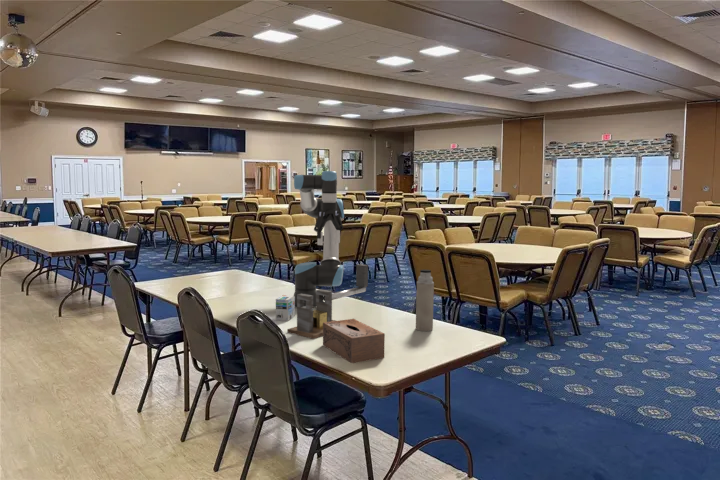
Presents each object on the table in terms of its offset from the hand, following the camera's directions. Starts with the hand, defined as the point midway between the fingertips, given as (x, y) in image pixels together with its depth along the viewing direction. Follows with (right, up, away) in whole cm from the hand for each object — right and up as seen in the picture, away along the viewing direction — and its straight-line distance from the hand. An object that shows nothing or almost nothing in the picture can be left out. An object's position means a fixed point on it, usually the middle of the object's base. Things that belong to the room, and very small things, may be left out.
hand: (328, 243), depth 281 cm
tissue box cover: (+13, -44, -56) cm, 72 cm away
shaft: (+9, -26, -10) cm, 29 cm away
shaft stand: (-3, -39, -24) cm, 46 cm away
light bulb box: (-21, -37, -4) cm, 43 cm away
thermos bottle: (+46, -40, -21) cm, 64 cm away
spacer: (-4, -38, -26) cm, 46 cm away
